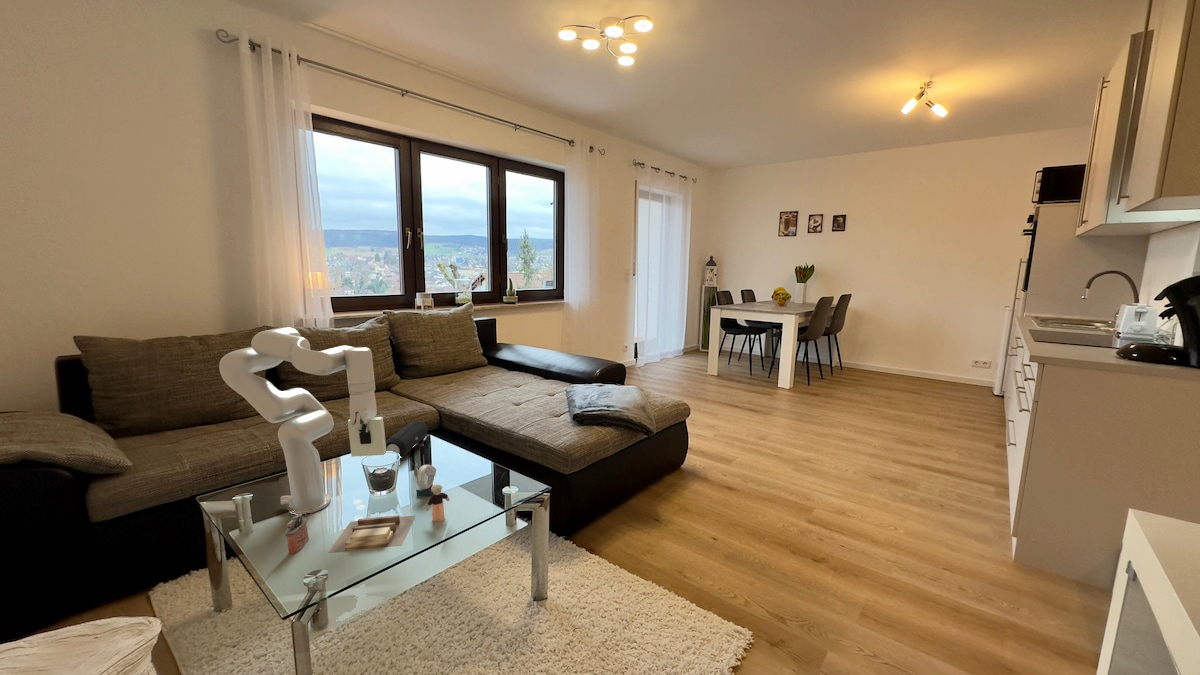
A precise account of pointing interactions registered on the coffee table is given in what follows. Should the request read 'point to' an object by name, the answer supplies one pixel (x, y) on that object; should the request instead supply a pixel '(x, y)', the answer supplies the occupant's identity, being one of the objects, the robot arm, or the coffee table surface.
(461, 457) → the coffee table surface
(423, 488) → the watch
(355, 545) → the lower birch offcut
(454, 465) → the coffee table surface
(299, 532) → the lighter
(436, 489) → the grandmother figurine
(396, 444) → the portable speaker
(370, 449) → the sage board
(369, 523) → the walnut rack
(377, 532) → the upper birch offcut
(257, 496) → the coffee table surface
